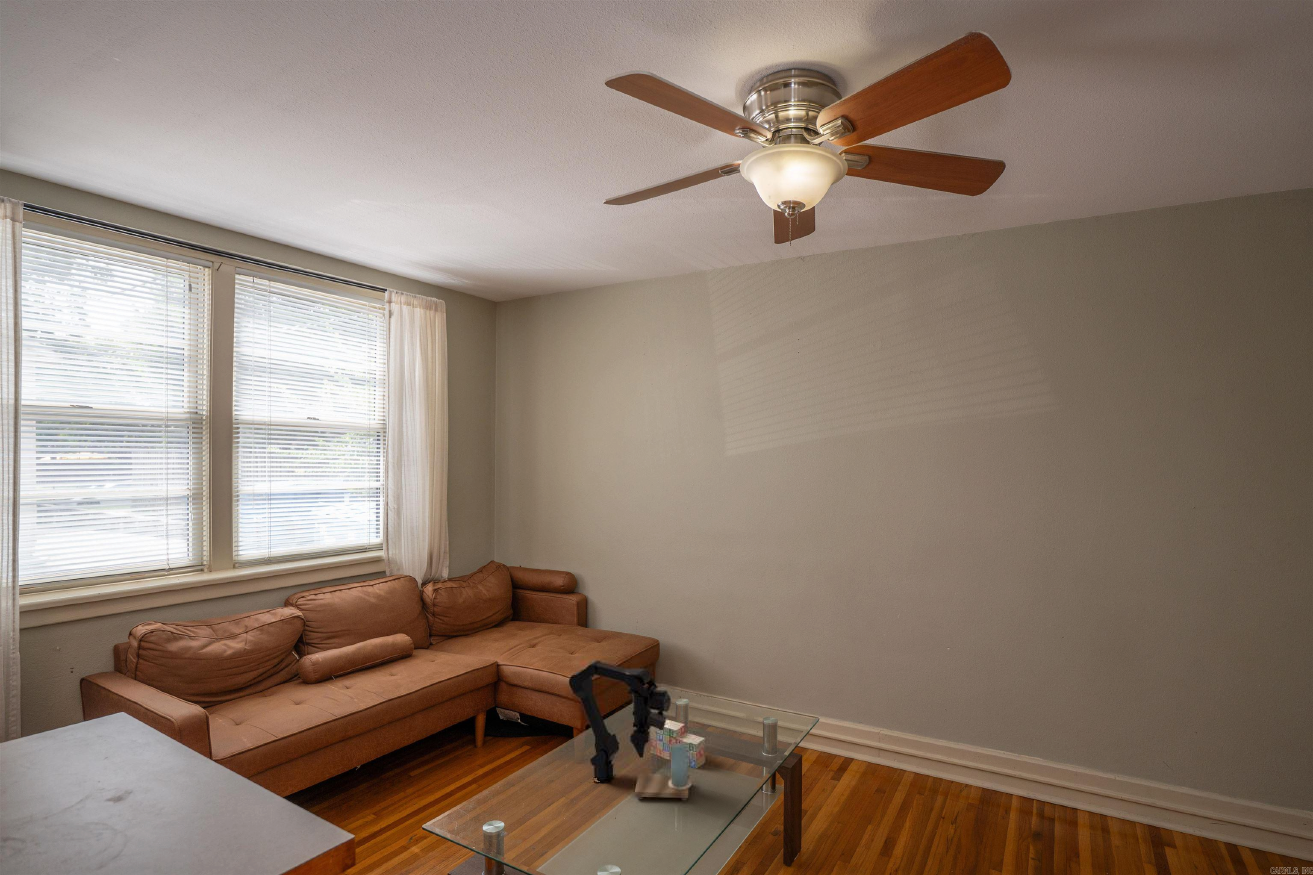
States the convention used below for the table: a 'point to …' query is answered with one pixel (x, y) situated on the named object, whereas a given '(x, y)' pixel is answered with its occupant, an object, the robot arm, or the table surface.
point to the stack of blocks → (676, 734)
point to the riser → (659, 787)
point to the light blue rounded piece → (679, 765)
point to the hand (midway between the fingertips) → (642, 751)
